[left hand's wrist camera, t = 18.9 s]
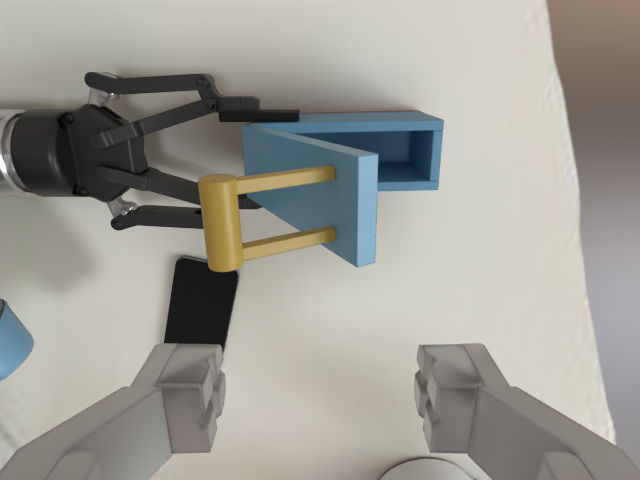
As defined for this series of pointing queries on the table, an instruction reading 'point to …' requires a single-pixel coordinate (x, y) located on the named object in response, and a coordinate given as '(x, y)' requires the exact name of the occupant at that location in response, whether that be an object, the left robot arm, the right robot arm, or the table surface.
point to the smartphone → (200, 303)
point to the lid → (293, 199)
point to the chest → (381, 142)
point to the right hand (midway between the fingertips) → (298, 154)
